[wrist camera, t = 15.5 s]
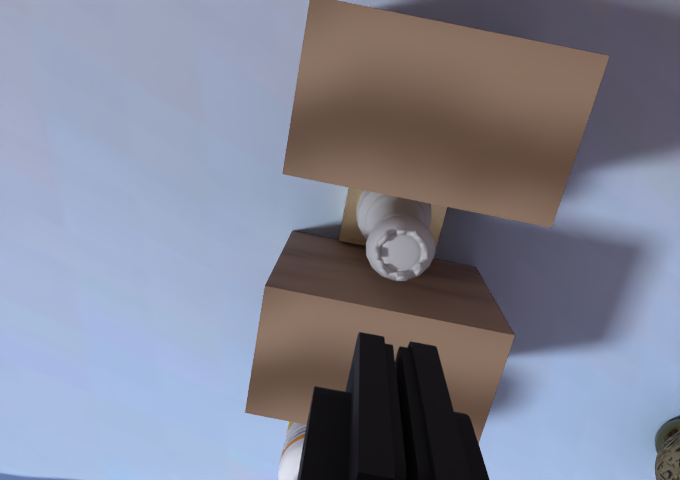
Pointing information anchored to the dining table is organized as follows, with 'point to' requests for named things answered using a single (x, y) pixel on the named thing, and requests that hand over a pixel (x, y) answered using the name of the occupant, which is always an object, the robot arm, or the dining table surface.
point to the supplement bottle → (292, 451)
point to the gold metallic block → (351, 228)
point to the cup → (668, 451)
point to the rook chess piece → (396, 235)
